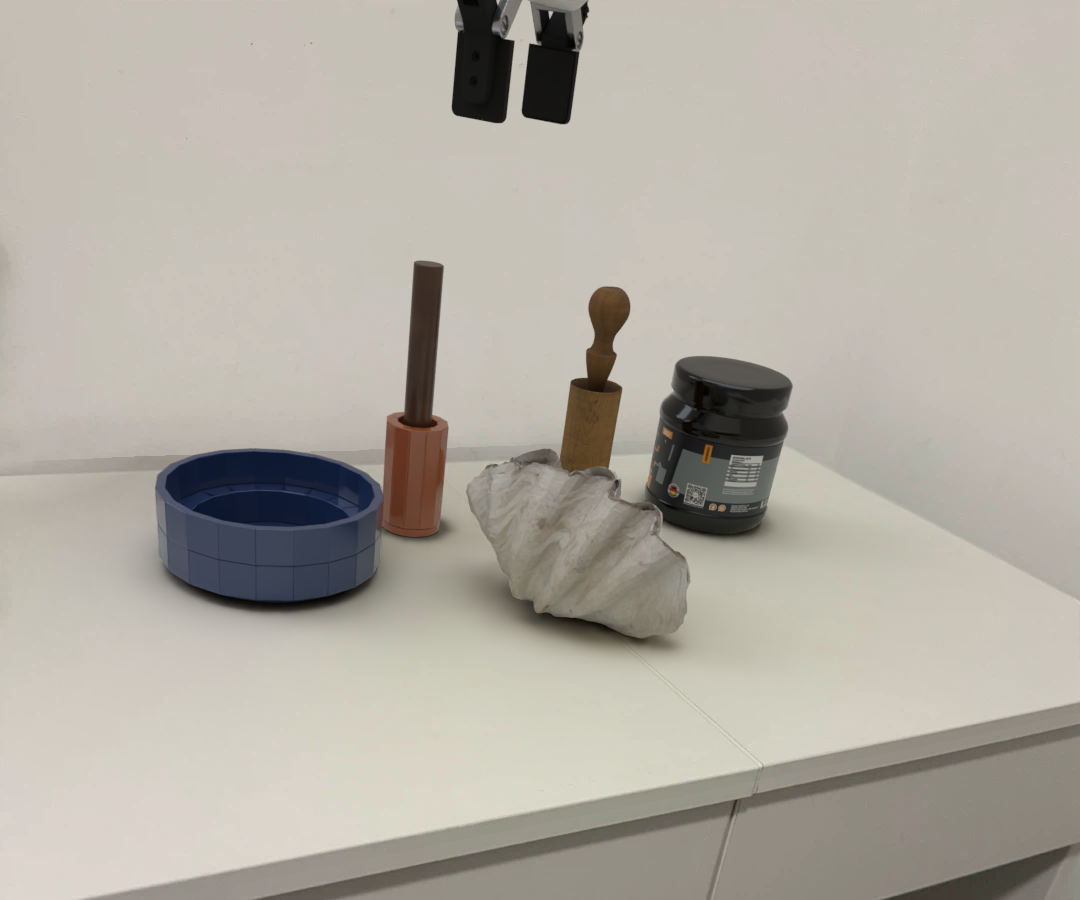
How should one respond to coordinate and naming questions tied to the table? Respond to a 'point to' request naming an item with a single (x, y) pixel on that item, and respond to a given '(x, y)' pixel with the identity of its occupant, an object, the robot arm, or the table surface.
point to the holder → (413, 476)
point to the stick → (423, 343)
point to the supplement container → (718, 444)
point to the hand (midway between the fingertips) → (513, 120)
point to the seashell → (580, 545)
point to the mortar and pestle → (595, 388)
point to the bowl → (269, 524)
